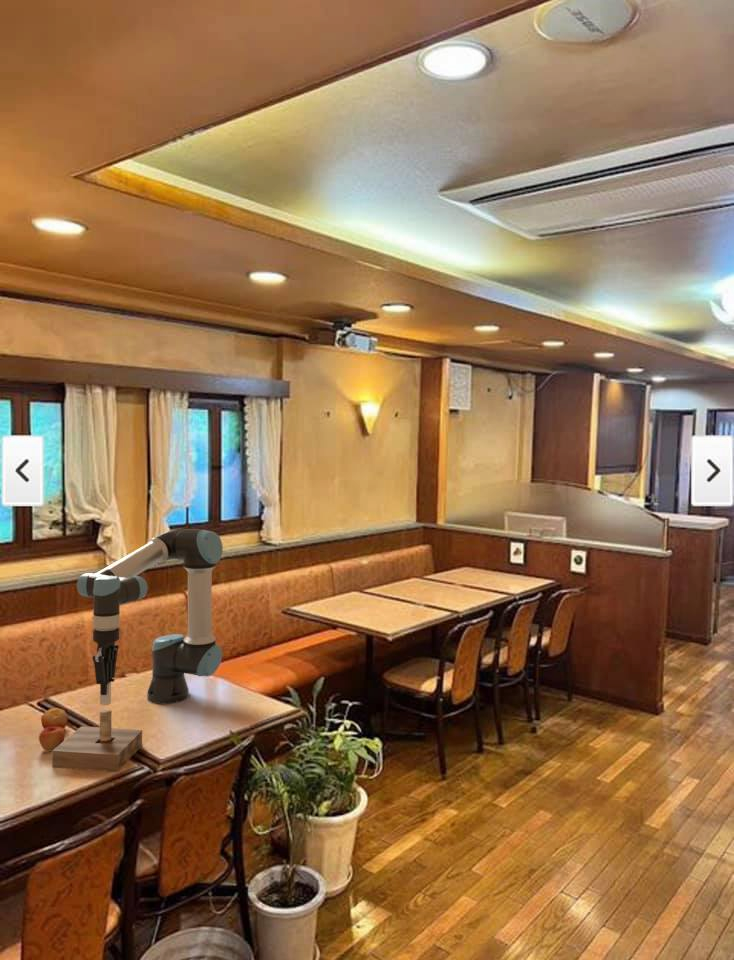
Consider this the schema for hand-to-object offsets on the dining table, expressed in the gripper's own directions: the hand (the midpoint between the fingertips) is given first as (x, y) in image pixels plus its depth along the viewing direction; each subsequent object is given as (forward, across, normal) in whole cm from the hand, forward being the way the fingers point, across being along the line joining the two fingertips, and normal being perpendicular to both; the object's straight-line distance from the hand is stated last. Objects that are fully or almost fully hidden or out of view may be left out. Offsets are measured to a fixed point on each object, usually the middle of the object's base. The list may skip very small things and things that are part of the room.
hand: (105, 703), depth 214 cm
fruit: (+17, -16, -25) cm, 34 cm away
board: (+17, 0, -2) cm, 17 cm away
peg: (+17, 0, 0) cm, 17 cm away
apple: (+17, -2, -18) cm, 25 cm away
